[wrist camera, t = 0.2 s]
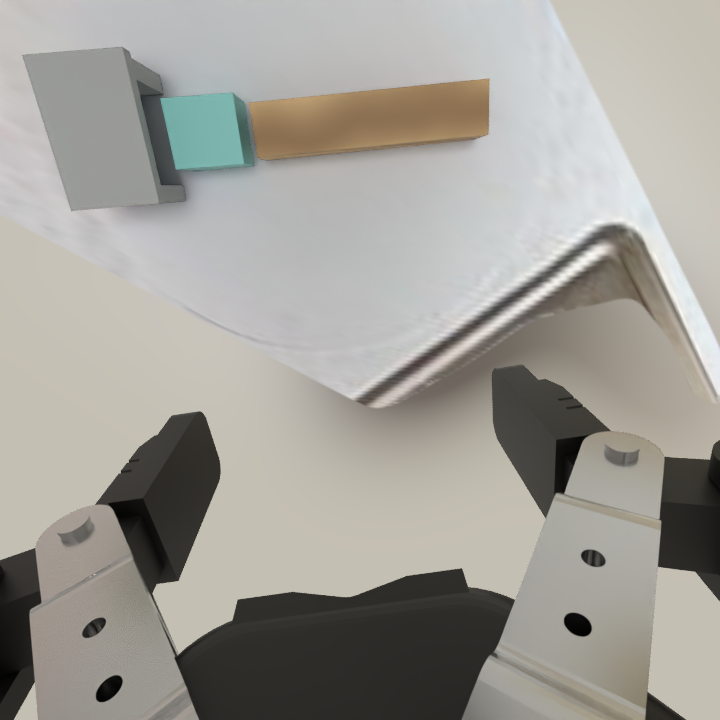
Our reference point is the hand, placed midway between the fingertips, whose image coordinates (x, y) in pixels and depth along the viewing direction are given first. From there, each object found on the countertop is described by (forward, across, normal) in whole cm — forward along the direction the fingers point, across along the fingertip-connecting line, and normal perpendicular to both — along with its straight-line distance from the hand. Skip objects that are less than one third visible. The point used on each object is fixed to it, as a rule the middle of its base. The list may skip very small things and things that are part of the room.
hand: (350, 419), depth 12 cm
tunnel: (+28, +14, -11) cm, 34 cm away
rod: (+29, -4, -10) cm, 30 cm away
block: (+28, +8, -11) cm, 32 cm away
